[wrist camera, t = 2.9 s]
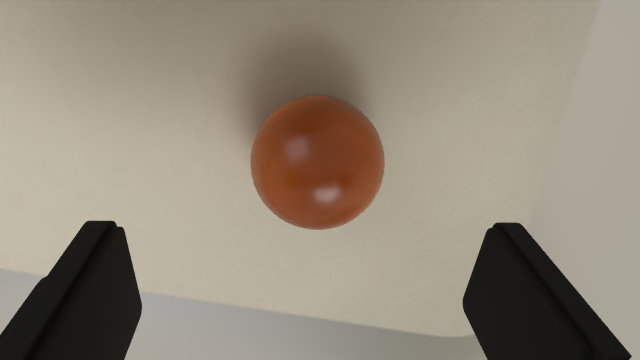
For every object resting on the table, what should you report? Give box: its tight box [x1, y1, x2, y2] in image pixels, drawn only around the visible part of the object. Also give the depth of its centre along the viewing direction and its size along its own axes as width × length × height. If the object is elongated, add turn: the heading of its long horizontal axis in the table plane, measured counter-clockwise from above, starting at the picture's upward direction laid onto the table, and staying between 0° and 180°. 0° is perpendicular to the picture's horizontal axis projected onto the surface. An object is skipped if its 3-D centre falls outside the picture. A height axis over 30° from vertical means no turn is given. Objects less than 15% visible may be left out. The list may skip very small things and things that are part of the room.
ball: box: [251, 96, 384, 230], centre depth 15 cm, size 5×5×5 cm
